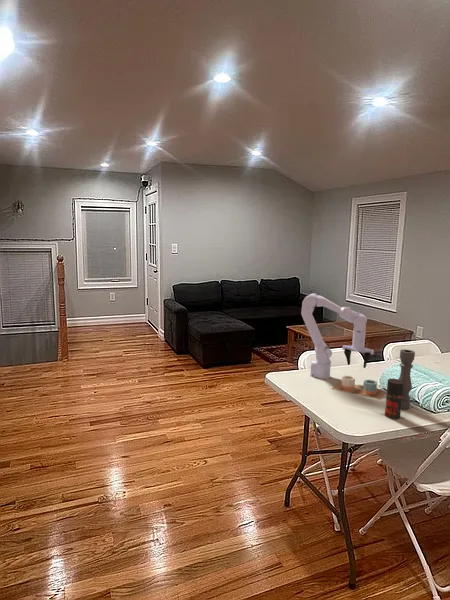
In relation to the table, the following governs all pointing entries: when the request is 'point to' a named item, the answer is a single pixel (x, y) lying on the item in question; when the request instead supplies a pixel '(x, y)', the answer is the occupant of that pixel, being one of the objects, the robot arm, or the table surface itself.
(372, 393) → the teal sleeve
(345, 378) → the ivory sleeve
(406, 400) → the candle holder
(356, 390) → the pin board
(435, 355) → the table surface
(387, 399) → the deodorant
